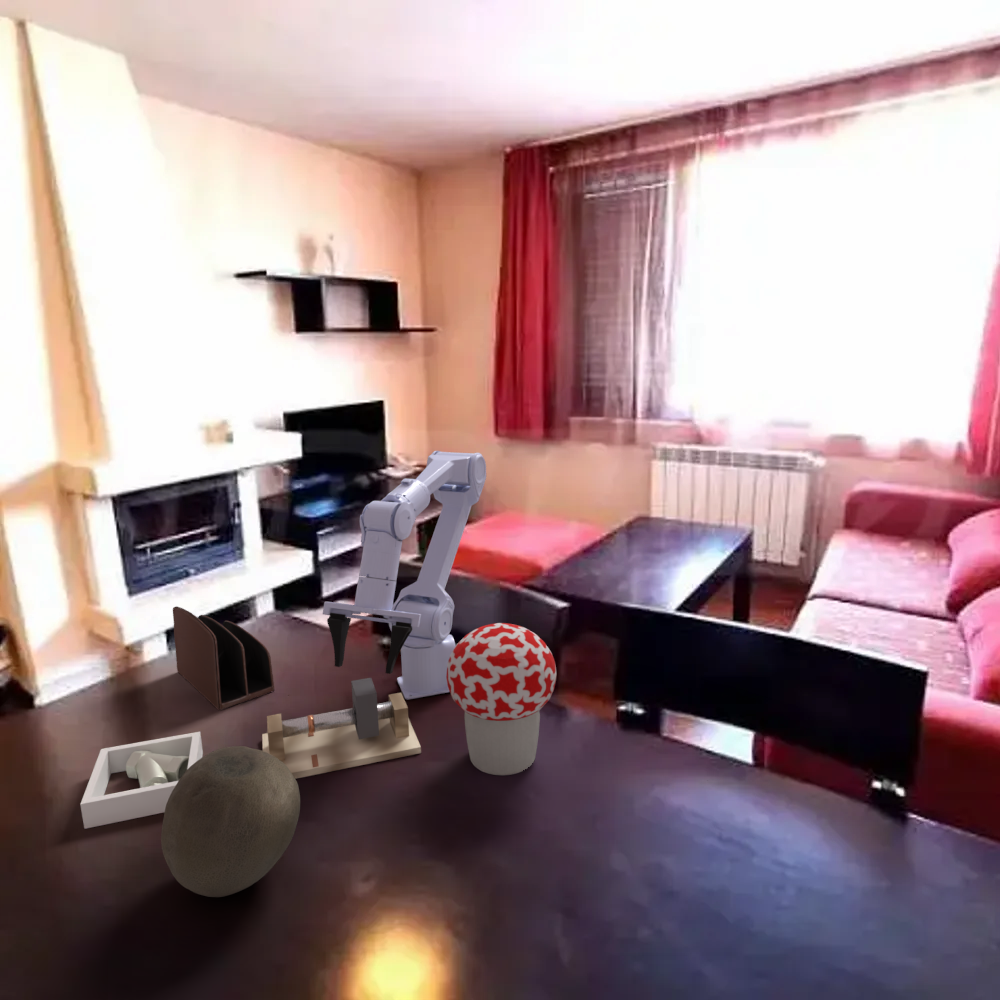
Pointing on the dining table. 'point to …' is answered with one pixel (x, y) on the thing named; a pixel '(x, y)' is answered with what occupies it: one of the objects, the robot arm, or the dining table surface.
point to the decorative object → (501, 694)
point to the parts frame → (134, 801)
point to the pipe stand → (342, 744)
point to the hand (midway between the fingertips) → (363, 669)
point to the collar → (365, 708)
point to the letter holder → (221, 659)
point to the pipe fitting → (155, 768)
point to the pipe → (329, 720)
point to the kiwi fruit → (229, 820)
